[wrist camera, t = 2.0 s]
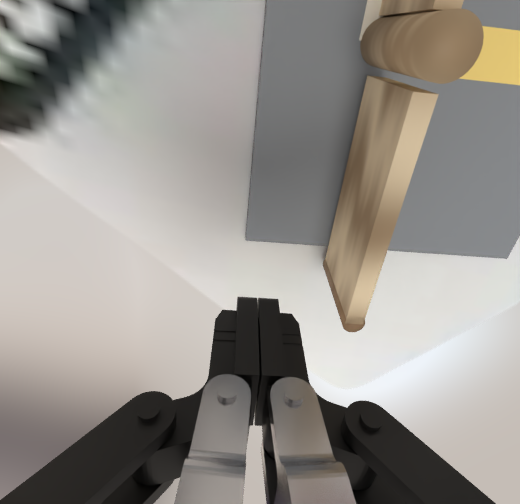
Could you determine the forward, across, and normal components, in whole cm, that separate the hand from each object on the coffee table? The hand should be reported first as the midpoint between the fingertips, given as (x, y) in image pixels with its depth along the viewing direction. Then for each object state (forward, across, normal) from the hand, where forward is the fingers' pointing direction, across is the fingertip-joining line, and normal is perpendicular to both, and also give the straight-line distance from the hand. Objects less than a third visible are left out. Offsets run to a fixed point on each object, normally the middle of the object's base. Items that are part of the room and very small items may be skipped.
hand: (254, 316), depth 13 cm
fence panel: (+10, -6, -2) cm, 12 cm away
